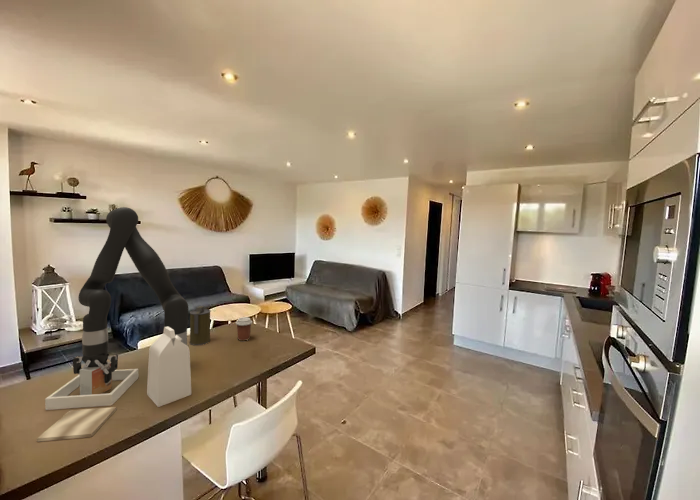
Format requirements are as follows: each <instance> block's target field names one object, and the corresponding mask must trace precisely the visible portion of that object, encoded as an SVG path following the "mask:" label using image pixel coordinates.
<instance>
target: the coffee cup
mask: <svg viewBox="0 0 700 500" xmlns="http://www.w3.org/2000/svg"><path fill="white" fill-rule="evenodd" d="M252 324H253V320H251V318H250V317H249V316H248V317H247V316H246V317H244V316H243V317H238V319H237V320H236V321H235V325H236V330H237V331H236V332H237V340H238V339H239V340H247V339H249V338H250V337H251V336H250V335H251V329H252ZM249 340H250V339H249ZM247 341H248V340H247Z"/></svg>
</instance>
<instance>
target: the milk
mask: <svg viewBox="0 0 700 500" xmlns="http://www.w3.org/2000/svg"><path fill="white" fill-rule="evenodd" d="M163 328H164V333H162V334H161V335H160V336H159V337H158V338H157V339H156V340H155V341H154V342H152V344H151V345H150V346H149V349H148V364H147V365H148V366H147V383H146V384H147V387H146V396H148V397H149V399H151V401H152V403H154V404H155V406H157V408H160V407H162V406H164V405H168V404H171V403H173V402H175V401H178V400H181V399H183V398H185V397H188V396H191V395H192V378H191V376H192V374H191V357H190V356H191V353H190V351H191V350H190V348H188V346H189V345H188V344H187V345H188V346H187V345H185V344H184V343H182V342H181V340H182V338H180V337H179V336H177V335H176V336H175V332H174V330H173V329H172V328H170V327H164V326H163Z"/></svg>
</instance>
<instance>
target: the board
mask: <svg viewBox="0 0 700 500" xmlns="http://www.w3.org/2000/svg"><path fill="white" fill-rule="evenodd" d="M117 409H118V408H117V406H112V407H110V406H109V407H98V408H95V407H94V408H84V409H82V408H81V409H70V410H68V411H67V412H66V413H65V414H63V416H61V417H60V418H59V419H58V420H56V422H54V423H53V424H52V425H51V426H49V428H47V429H46V430H45V431H44V432H42V433H41V434H40V435H39V436H38V437H37V438H36V442H38V443H39V442H49V441H59V440H60V441H61V440H72V439H83V438H92V437H93V436H94V435H95V434H96V433H97V432H98V430H100V428H101V427H102V426H103V425H104V424H105V423H106V422H107V421H108V420H109V418H110V417H111V416H112V415H114V413H115V412H116V411H117Z"/></svg>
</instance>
